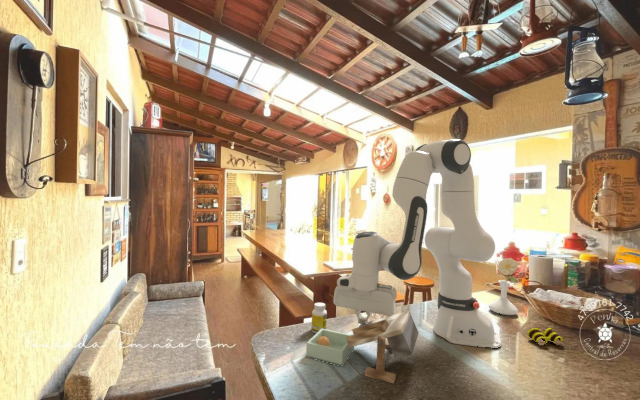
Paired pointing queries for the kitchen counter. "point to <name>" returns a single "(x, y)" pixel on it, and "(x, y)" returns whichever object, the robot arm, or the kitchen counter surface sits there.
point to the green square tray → (334, 352)
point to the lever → (388, 333)
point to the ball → (323, 341)
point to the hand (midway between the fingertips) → (363, 323)
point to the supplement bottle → (319, 317)
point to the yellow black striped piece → (543, 335)
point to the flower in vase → (505, 288)
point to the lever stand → (381, 363)
